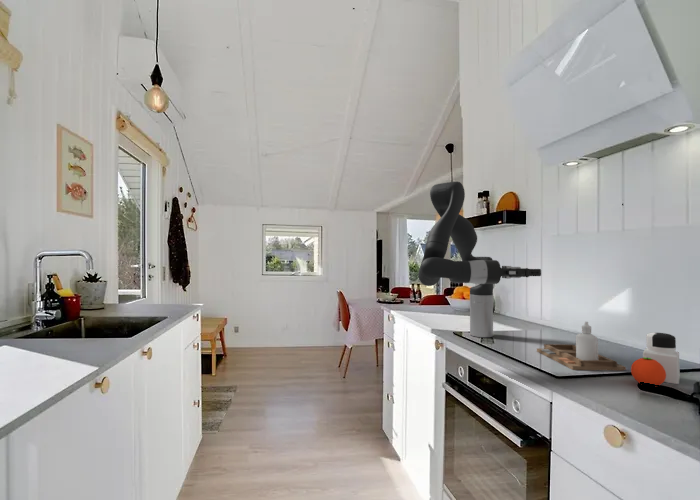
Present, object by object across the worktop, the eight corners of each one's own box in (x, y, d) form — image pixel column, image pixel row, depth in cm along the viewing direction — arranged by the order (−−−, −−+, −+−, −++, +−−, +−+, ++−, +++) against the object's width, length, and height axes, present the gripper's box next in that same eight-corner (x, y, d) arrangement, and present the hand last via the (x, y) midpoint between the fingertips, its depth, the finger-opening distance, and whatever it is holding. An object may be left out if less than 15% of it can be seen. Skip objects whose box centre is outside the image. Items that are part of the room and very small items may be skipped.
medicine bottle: (679, 378, 100) (678, 333, 100) (678, 384, 94) (677, 337, 95) (645, 372, 104) (645, 330, 105) (643, 378, 99) (642, 333, 100)
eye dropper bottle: (588, 359, 115) (587, 320, 116) (600, 364, 110) (599, 323, 110) (574, 359, 115) (573, 320, 115) (586, 364, 109) (585, 323, 110)
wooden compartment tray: (536, 351, 129) (536, 344, 129) (580, 351, 129) (580, 344, 129) (572, 369, 107) (572, 361, 107) (625, 370, 107) (625, 361, 107)
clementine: (628, 379, 99) (627, 352, 99) (661, 383, 96) (661, 355, 96) (633, 387, 92) (632, 358, 92) (669, 392, 89) (668, 362, 89)
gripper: (490, 260, 111) (545, 260, 110) (475, 260, 125) (524, 260, 124) (490, 285, 110) (545, 285, 110) (475, 282, 125) (524, 282, 124)
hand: (534, 272), depth 117 cm, fingers open, 8 cm apart
